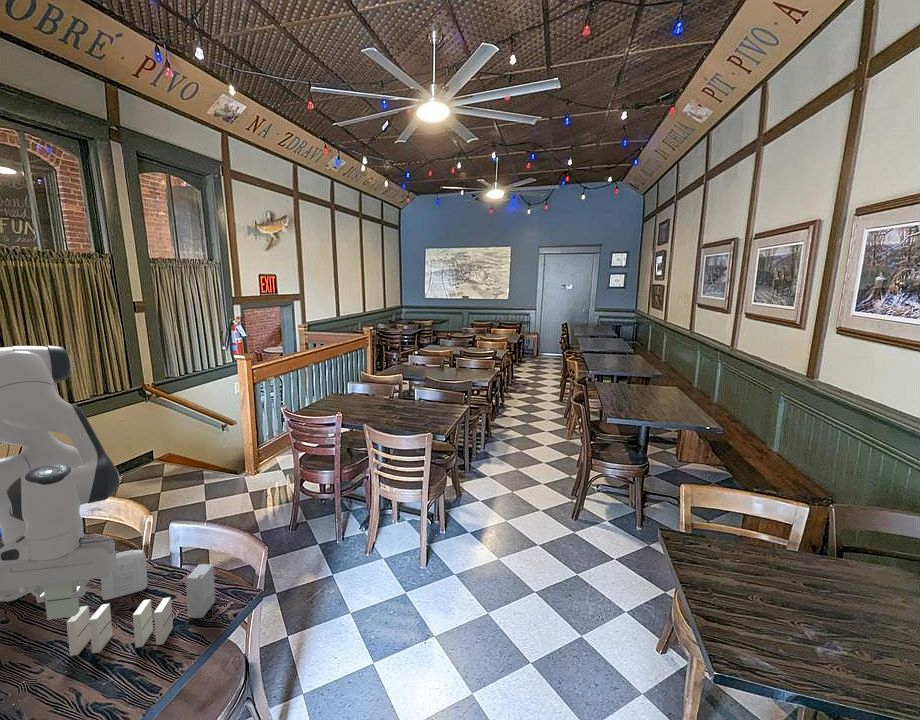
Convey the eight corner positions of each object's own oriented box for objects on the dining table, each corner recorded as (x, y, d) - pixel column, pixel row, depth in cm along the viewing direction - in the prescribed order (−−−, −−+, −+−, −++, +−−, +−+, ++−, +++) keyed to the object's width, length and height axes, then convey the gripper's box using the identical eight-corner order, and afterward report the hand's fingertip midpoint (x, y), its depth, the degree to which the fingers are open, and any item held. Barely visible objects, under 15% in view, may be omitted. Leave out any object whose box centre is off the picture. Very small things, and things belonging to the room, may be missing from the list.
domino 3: (135, 647, 100) (132, 615, 98) (145, 631, 105) (143, 600, 103) (142, 646, 100) (140, 614, 99) (153, 630, 105) (151, 599, 104)
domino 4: (156, 645, 101) (153, 612, 99) (165, 629, 106) (163, 598, 104) (163, 644, 101) (161, 611, 100) (172, 628, 106) (170, 597, 105)
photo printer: (148, 581, 122) (145, 543, 120) (147, 590, 119) (144, 551, 117) (103, 593, 117) (100, 554, 115) (100, 603, 113) (97, 562, 111)
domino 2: (92, 653, 98) (88, 619, 96) (105, 636, 103) (102, 604, 101) (100, 652, 98) (97, 618, 97) (112, 635, 103) (109, 603, 102)
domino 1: (70, 655, 97) (66, 622, 95) (84, 638, 102) (80, 606, 100) (78, 654, 97) (74, 621, 96) (91, 637, 102) (88, 605, 101)
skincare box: (200, 602, 115) (198, 563, 113) (216, 602, 115) (214, 563, 114) (186, 618, 109) (184, 578, 107) (203, 619, 109) (201, 578, 108)
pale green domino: (75, 616, 90) (71, 579, 89) (47, 619, 89) (42, 582, 87) (79, 610, 92) (76, 574, 90) (52, 614, 90) (48, 577, 89)
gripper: (120, 527, 94) (125, 581, 96) (8, 537, 88) (15, 595, 90) (105, 543, 88) (110, 600, 90) (-17, 555, 82) (-9, 616, 84)
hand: (62, 598), depth 90 cm, fingers closed on pale green domino, 5 cm apart
